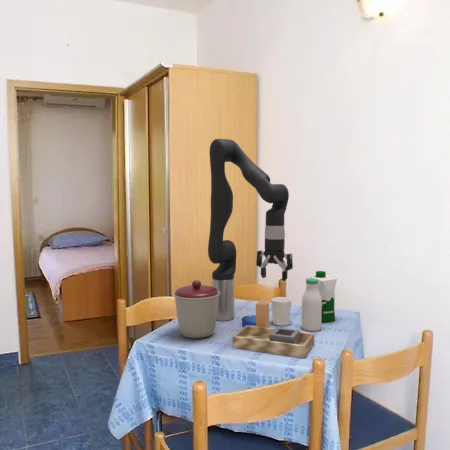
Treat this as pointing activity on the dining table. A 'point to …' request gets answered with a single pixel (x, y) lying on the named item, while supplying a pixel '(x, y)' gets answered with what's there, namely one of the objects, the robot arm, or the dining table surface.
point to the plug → (262, 314)
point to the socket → (285, 335)
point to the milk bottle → (311, 306)
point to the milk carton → (326, 295)
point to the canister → (196, 309)
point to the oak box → (271, 342)
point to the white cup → (281, 310)
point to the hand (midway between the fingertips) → (273, 279)
